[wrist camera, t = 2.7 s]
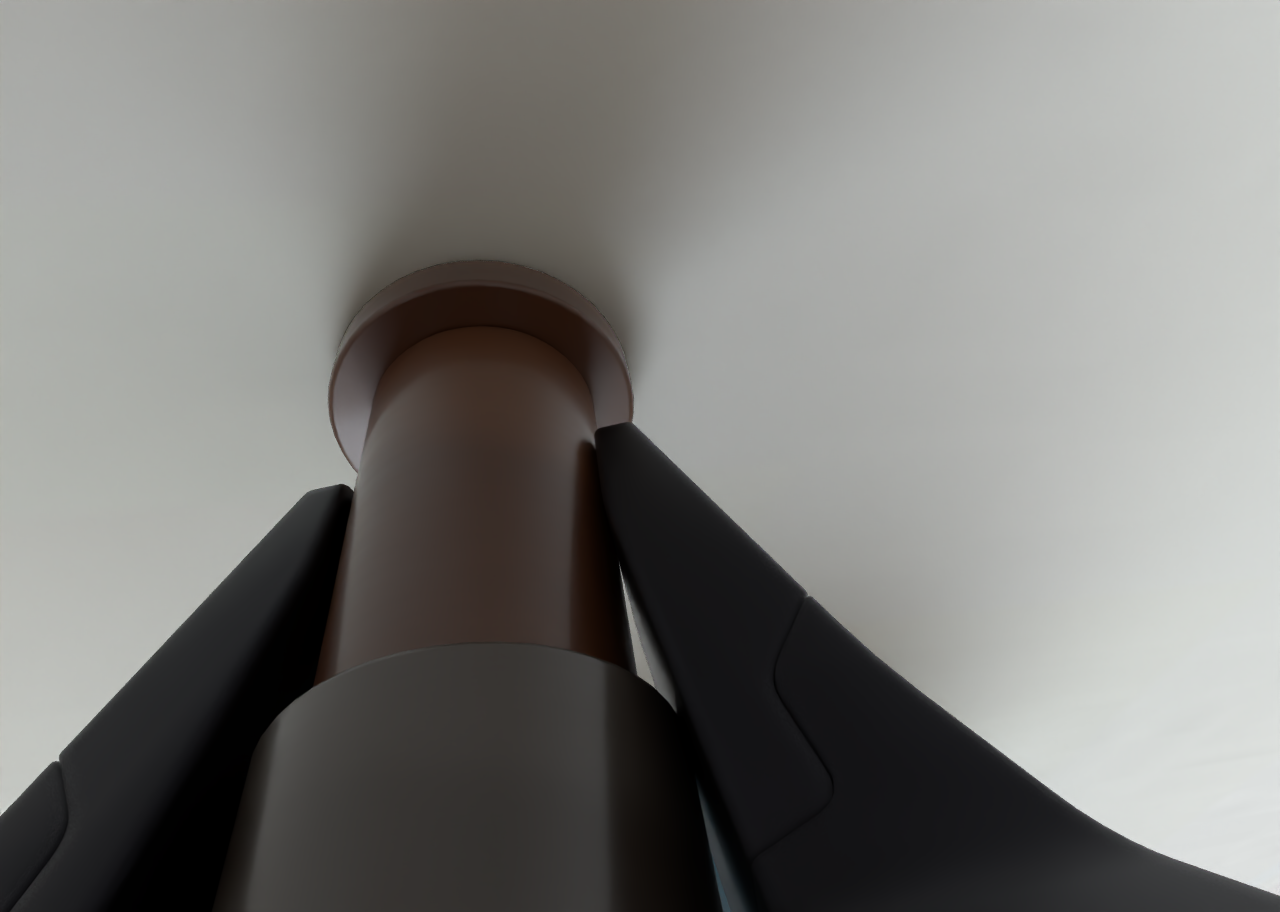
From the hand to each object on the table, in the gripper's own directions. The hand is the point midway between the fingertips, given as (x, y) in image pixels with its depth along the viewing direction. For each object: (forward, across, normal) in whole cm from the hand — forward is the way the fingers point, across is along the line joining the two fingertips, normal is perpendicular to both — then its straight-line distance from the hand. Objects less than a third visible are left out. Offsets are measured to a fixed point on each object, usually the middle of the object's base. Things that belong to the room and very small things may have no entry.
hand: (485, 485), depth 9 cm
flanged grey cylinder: (+2, 0, 0) cm, 2 cm away
